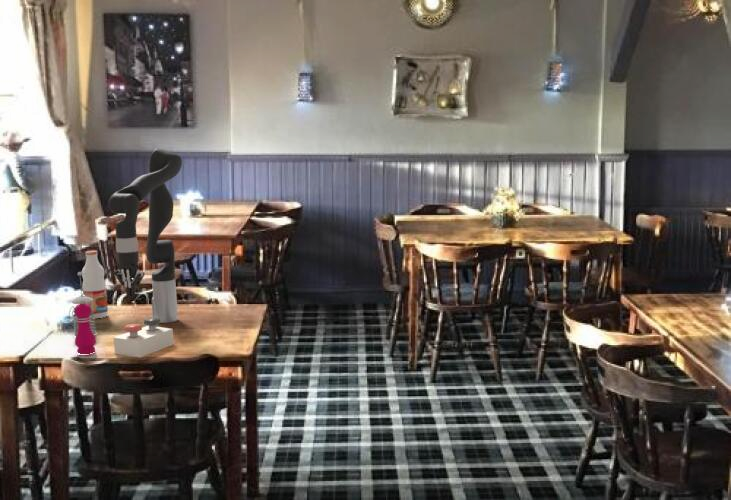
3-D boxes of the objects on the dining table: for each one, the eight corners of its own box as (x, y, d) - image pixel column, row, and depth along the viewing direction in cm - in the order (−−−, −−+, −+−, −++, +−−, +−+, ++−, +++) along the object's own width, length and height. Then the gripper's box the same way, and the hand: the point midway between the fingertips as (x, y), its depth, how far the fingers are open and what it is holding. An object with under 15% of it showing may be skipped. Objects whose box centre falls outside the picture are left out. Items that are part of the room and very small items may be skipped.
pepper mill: (78, 351, 345) (73, 297, 342) (98, 350, 346) (94, 296, 342) (74, 356, 338) (69, 302, 335) (94, 355, 339) (90, 301, 335)
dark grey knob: (141, 334, 348) (140, 320, 347) (152, 330, 353) (151, 316, 352) (153, 336, 345) (152, 322, 344) (164, 332, 350) (163, 318, 349)
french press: (103, 332, 370) (98, 270, 365) (81, 340, 360) (76, 276, 355) (84, 330, 374) (79, 268, 370) (63, 337, 364) (57, 274, 360)
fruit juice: (90, 314, 401) (84, 249, 396) (111, 314, 400) (106, 249, 395) (81, 319, 392) (75, 253, 387) (103, 319, 391) (97, 253, 386)
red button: (122, 341, 339) (120, 327, 338) (133, 337, 344) (132, 323, 343) (134, 343, 336) (133, 328, 335) (146, 339, 341) (145, 324, 340)
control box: (114, 353, 341) (113, 337, 340) (149, 341, 356) (147, 325, 355) (139, 357, 335) (138, 341, 334) (173, 344, 350) (172, 328, 349)
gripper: (105, 250, 334) (109, 298, 337) (134, 252, 328) (137, 301, 331) (121, 246, 341) (124, 293, 344) (148, 249, 334) (152, 296, 337)
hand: (131, 297), depth 337 cm, fingers closed
